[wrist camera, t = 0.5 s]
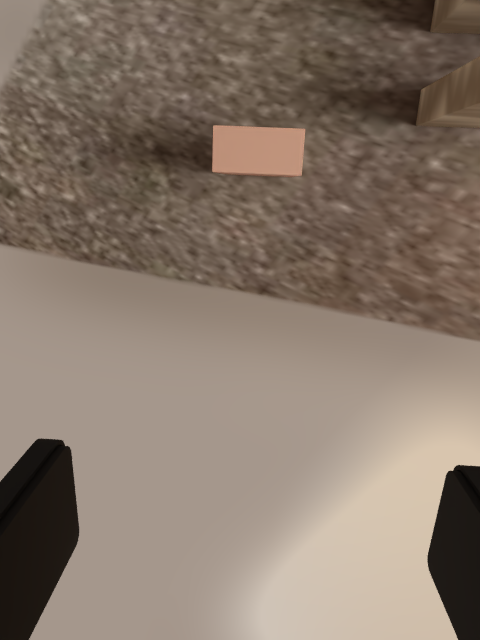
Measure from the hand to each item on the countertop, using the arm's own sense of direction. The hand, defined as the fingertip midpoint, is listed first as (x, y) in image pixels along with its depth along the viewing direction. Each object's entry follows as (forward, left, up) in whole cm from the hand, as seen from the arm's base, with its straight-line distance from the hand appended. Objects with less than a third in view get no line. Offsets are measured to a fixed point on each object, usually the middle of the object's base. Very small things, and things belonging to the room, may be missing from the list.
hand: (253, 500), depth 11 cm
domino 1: (-9, -1, -27) cm, 28 cm away
